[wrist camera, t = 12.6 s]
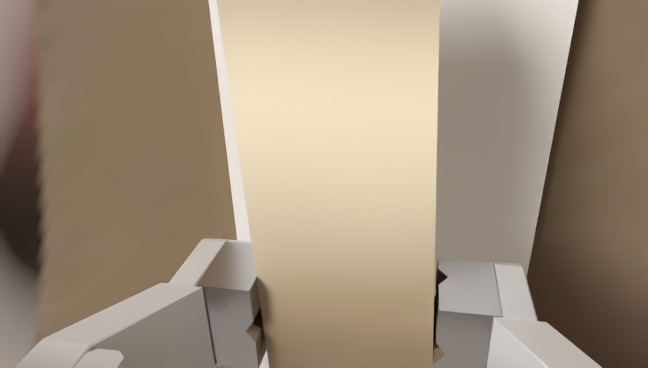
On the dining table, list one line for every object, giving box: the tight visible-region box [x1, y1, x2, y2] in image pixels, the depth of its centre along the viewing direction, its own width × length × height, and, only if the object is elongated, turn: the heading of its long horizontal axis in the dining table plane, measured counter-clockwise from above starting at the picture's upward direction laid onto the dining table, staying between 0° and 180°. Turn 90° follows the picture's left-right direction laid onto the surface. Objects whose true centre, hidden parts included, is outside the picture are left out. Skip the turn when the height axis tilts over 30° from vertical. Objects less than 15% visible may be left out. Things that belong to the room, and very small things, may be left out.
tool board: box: [209, 0, 579, 368], centre depth 16 cm, size 24×9×1 cm, turn 2°
